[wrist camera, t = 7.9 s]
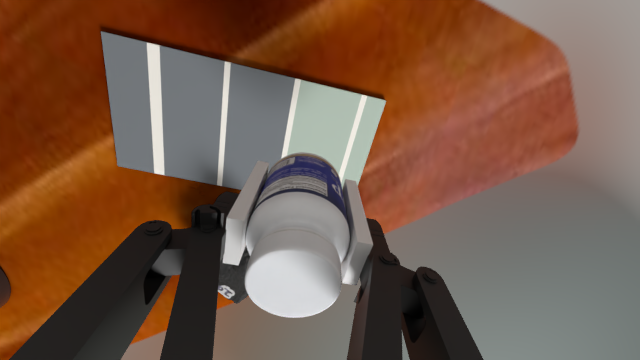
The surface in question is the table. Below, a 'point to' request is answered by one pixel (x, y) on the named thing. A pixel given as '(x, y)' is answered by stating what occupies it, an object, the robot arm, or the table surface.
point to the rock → (234, 279)
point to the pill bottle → (297, 238)
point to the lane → (226, 116)
